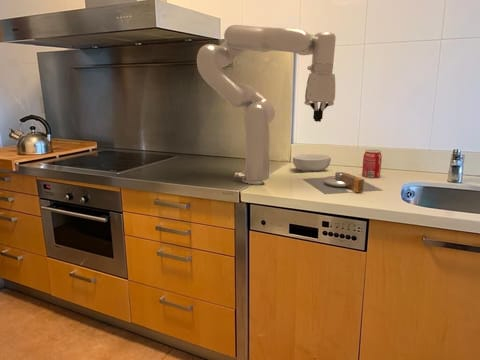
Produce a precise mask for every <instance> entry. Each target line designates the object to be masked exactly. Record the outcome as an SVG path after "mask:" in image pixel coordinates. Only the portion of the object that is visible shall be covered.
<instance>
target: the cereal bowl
mask: <svg viewBox="0 0 480 360" xmlns="http://www.w3.org/2000/svg"><path fill="white" fill-rule="evenodd" d="M331 160H332V156H331V155H328V154H324V153H314V152H313V153H306V152H305V153H297V154H294V155H293V156H292V164H293V166H294V167H295V168H296V169H298V170H299V171H301V172H303V173H305V174H307V173H308V174H309V173H321V171H324V170H326V169H328V167H330V165H331Z"/></svg>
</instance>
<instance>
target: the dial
mask: <svg viewBox="0 0 480 360" xmlns="http://www.w3.org/2000/svg"><path fill="white" fill-rule="evenodd" d="M334 174H335V175H329V176H325V177H323V178H324V183H325V184H327V185H331V186H337V187H348V188H351V189H353V190H354V191H357V192H356V193H360V192H359V191H364V181H365V178H364V179H363V178H362V177H358V176H356V175H354V174H350V173H348V172H347V173H346V172H345V171H344V172H342V171H341V172H339V171H336V172H335V173H334Z"/></svg>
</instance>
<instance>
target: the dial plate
mask: <svg viewBox="0 0 480 360" xmlns="http://www.w3.org/2000/svg"><path fill="white" fill-rule="evenodd" d="M324 178H325V177H313V178H312V177H310V178H302V180H303V181H304V182H306V183H307V184H309V185H311V186H312V187H314V188H315V189H316V190H318V191H320V192H321V193H323V194H324V195H333V194H334V195H335V194H349V193H350V194H351V193H364V192H365V193H367V192H368V193H369V192H376V191H377V192H380V191H381V192H382V191H384V190H383V189H381V188H380V187H377V186H375V185H373V184H371V183H368V182H367V181H366V180H364V191H359V192H357V191H354V190H353V189H351V188H348V187H337V186H331V185H327V184H325V183H324Z"/></svg>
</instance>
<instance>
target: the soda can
mask: <svg viewBox="0 0 480 360" xmlns="http://www.w3.org/2000/svg"><path fill="white" fill-rule="evenodd" d="M381 152H382V151H381V150H378V149H366V150H365V152H364V154H363V159H362V170H361V176H362V177H363V178H367V179H380V177H381V169H382V163H383V162H382V159H383V155H382V153H381Z"/></svg>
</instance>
